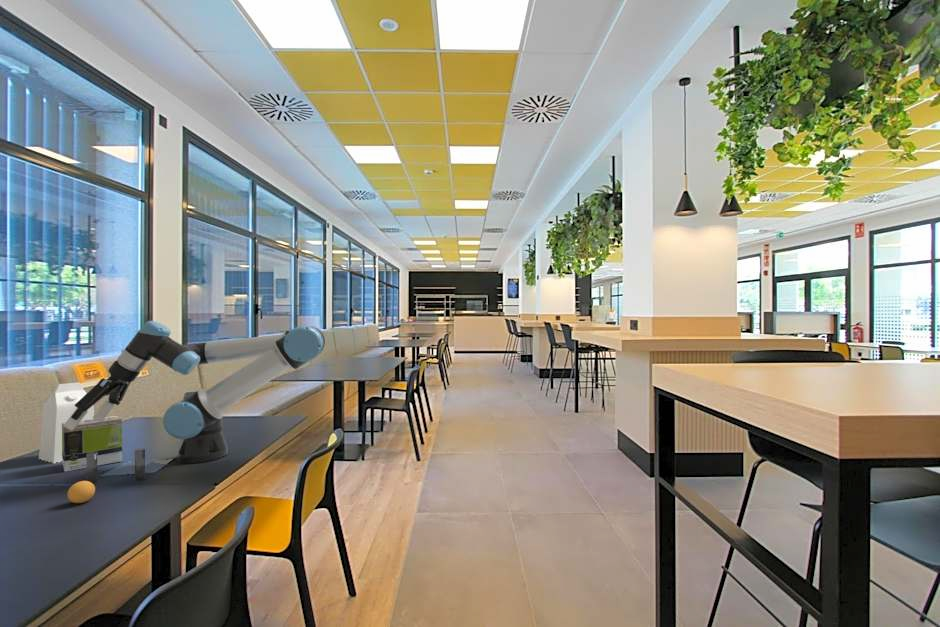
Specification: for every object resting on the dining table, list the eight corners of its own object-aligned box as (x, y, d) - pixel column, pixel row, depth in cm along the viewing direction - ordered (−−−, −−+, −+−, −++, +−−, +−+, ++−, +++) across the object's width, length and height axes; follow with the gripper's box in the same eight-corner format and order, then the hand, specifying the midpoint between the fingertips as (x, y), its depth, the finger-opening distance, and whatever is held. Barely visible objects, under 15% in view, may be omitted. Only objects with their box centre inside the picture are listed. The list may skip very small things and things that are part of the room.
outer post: (99, 481, 134) (99, 451, 134) (94, 484, 132) (94, 453, 132) (89, 482, 134) (89, 451, 134) (84, 485, 131) (84, 454, 131)
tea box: (118, 456, 161) (118, 414, 161) (122, 462, 154) (122, 418, 154) (61, 465, 150) (61, 421, 151) (63, 472, 143) (63, 425, 143)
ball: (99, 497, 122) (99, 477, 122) (86, 505, 116) (87, 484, 116) (76, 499, 120) (76, 478, 121) (62, 507, 115) (62, 485, 115)
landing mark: (175, 458, 157) (175, 458, 157) (154, 472, 142) (154, 472, 142) (126, 462, 154) (126, 461, 154) (100, 476, 139) (100, 475, 139)
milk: (80, 450, 169) (81, 380, 169) (96, 454, 163) (96, 382, 164) (38, 459, 158) (39, 384, 159) (53, 463, 153) (54, 386, 153)
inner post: (146, 478, 137) (146, 448, 137) (142, 481, 134) (142, 450, 134) (137, 479, 136) (137, 449, 136) (132, 481, 134) (133, 451, 134)
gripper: (138, 357, 154) (96, 410, 151) (92, 361, 130) (41, 424, 126) (158, 369, 155) (117, 422, 152) (116, 375, 131) (66, 438, 127)
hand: (83, 423), depth 139 cm, fingers open, 13 cm apart
